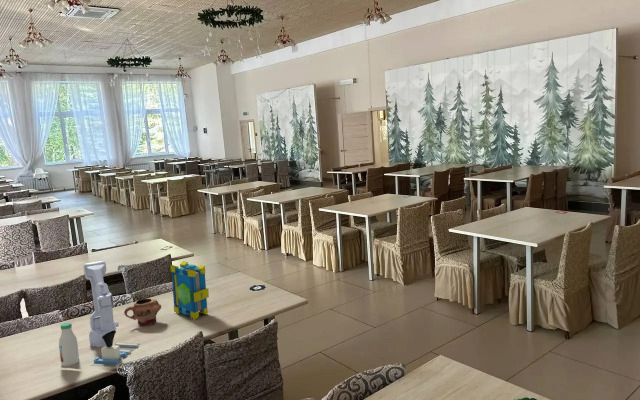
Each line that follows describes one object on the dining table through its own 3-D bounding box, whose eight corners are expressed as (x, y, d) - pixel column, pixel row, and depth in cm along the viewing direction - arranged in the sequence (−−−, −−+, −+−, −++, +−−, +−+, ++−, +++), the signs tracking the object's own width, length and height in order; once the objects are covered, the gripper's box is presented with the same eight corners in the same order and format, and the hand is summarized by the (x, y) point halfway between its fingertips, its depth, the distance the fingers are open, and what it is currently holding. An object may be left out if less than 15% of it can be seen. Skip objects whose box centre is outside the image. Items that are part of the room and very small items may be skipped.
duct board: (90, 367, 225) (89, 361, 225) (119, 344, 249) (119, 339, 248) (113, 368, 223) (113, 363, 223) (141, 345, 247) (140, 340, 246)
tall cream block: (102, 360, 229) (101, 348, 229) (107, 356, 233) (106, 344, 232) (115, 361, 228) (114, 349, 227) (120, 357, 232) (119, 345, 231)
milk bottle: (82, 359, 233) (78, 320, 230) (74, 367, 226) (70, 327, 223) (66, 360, 233) (61, 321, 230) (58, 368, 225) (53, 327, 222)
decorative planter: (128, 332, 263) (126, 308, 261) (123, 325, 273) (121, 302, 271) (165, 323, 275) (163, 299, 273) (158, 316, 285) (156, 294, 283)
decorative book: (193, 321, 276) (189, 271, 271) (169, 313, 290) (165, 265, 285) (212, 313, 287) (209, 265, 282) (188, 305, 301) (185, 259, 296)
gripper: (105, 326, 220) (108, 353, 222) (123, 313, 234) (125, 340, 236) (91, 325, 221) (94, 353, 223) (110, 313, 235) (112, 339, 237)
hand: (109, 346), depth 230 cm, fingers closed
